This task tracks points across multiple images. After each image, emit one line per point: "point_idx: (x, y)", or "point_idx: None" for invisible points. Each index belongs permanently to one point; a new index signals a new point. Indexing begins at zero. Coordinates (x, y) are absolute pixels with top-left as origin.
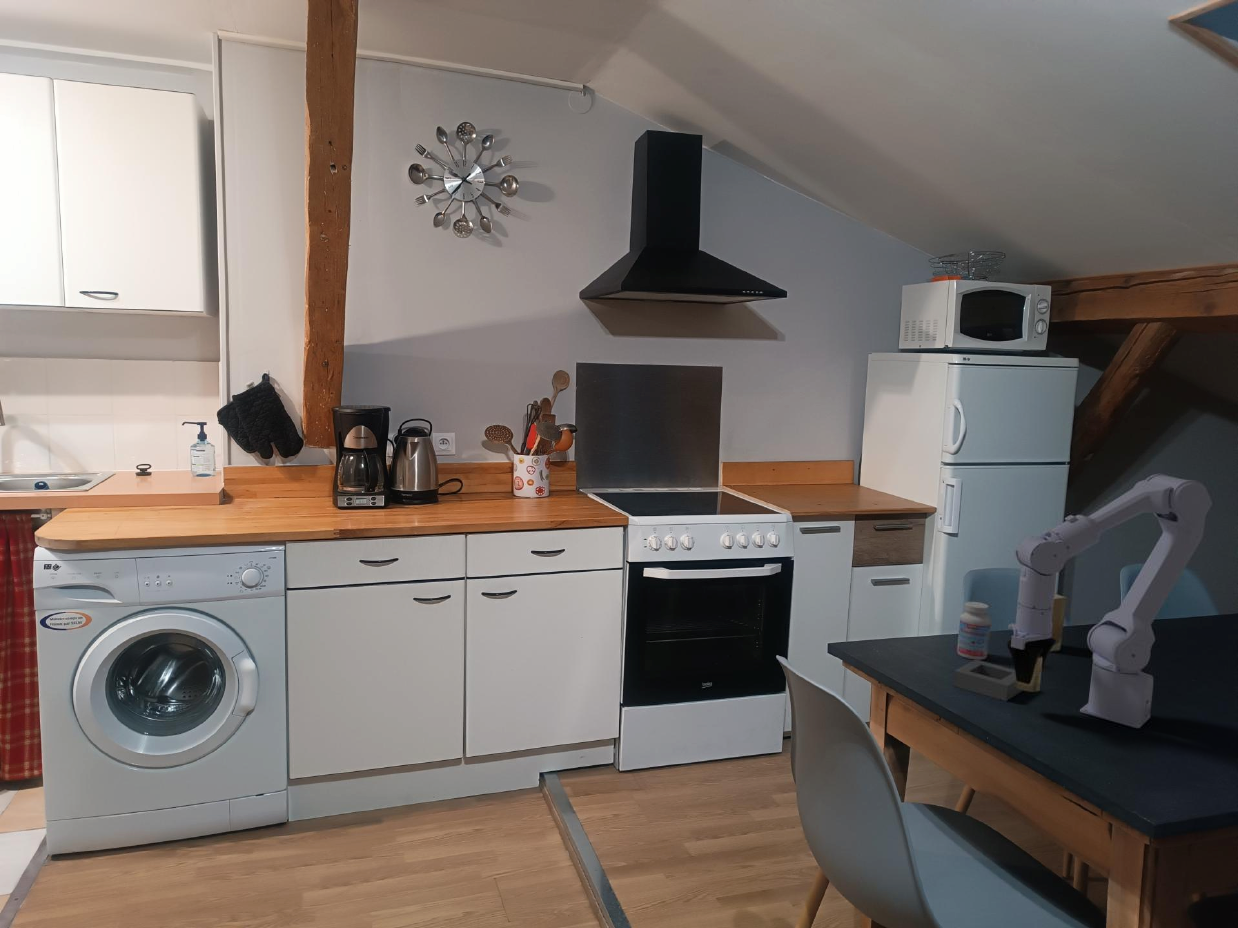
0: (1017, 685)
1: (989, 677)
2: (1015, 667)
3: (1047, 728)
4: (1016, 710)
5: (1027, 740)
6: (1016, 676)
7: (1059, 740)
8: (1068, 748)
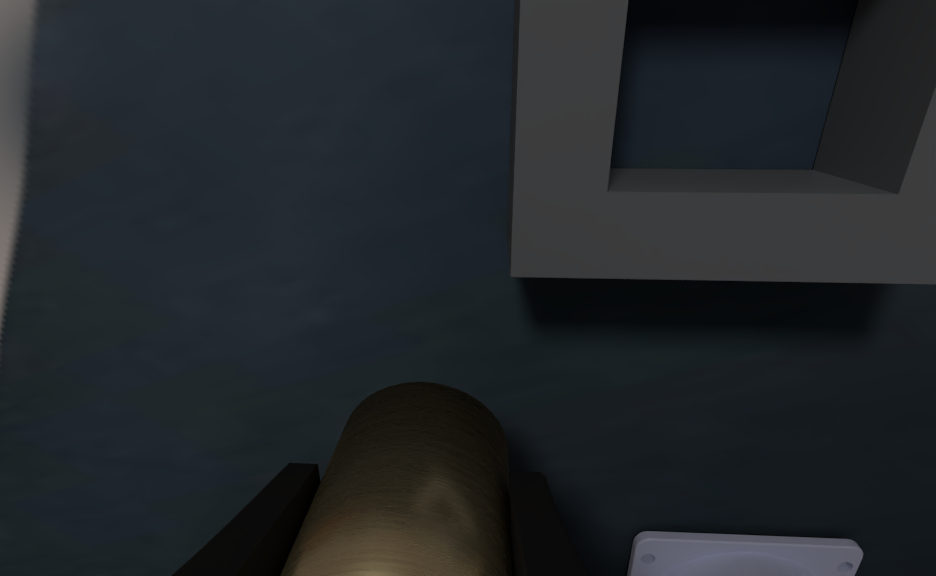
0: (347, 424)
1: (604, 91)
2: (195, 560)
3: None
4: (410, 326)
5: (101, 464)
6: (264, 489)
7: None
8: None
